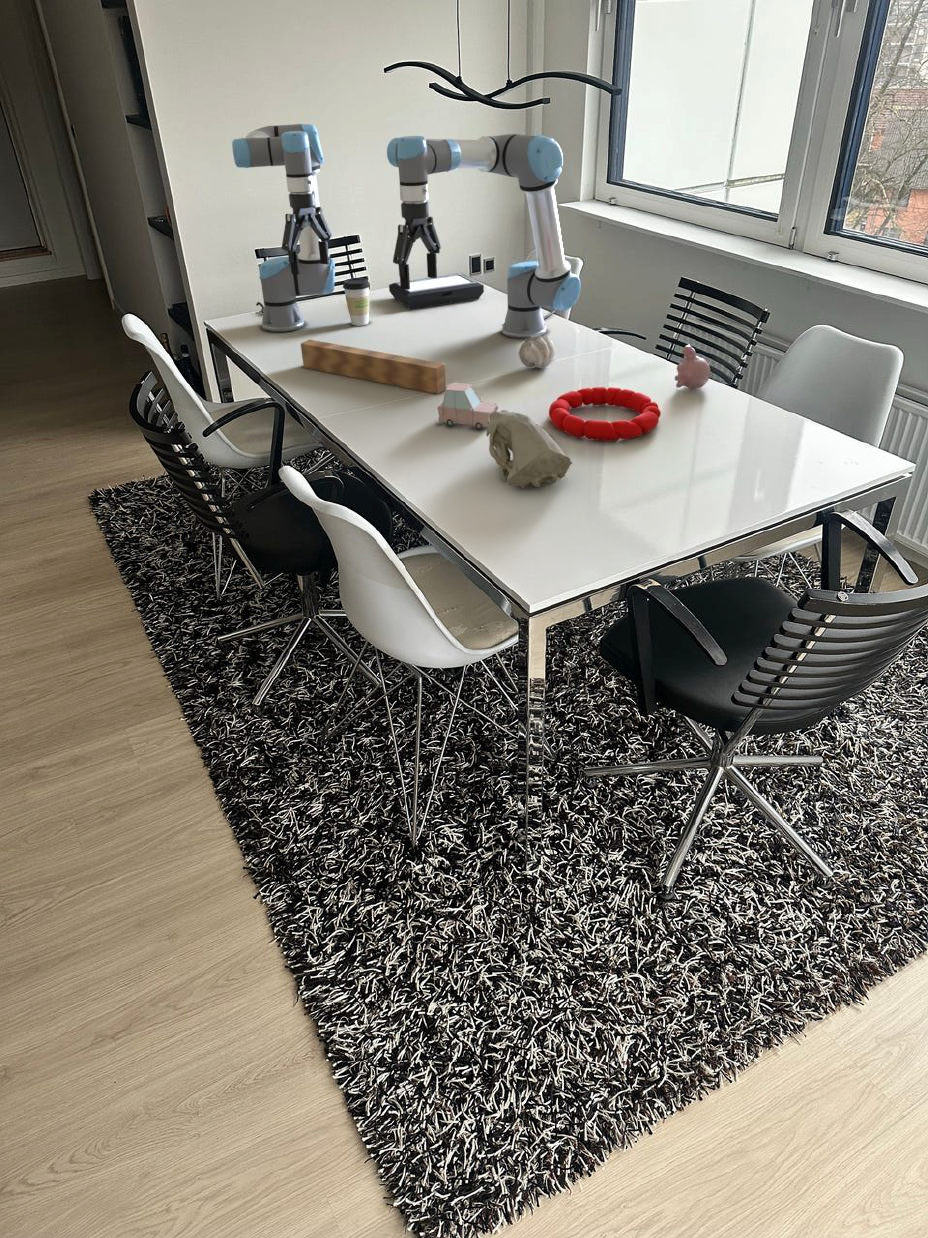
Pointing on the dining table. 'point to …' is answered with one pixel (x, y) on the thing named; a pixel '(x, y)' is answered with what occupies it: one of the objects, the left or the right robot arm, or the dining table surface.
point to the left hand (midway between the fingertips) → (310, 268)
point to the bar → (374, 366)
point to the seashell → (536, 351)
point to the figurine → (692, 370)
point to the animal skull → (525, 450)
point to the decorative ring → (604, 428)
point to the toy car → (465, 406)
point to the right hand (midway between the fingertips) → (419, 282)
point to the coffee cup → (357, 300)
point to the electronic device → (437, 291)
